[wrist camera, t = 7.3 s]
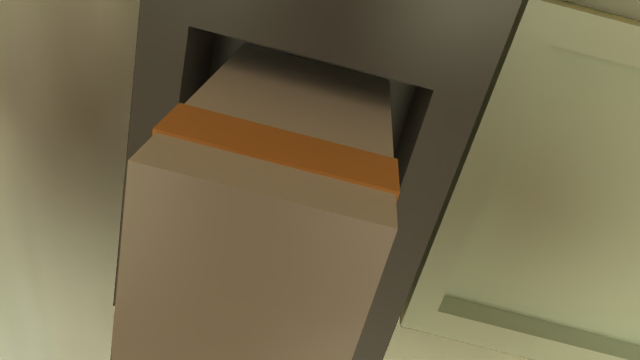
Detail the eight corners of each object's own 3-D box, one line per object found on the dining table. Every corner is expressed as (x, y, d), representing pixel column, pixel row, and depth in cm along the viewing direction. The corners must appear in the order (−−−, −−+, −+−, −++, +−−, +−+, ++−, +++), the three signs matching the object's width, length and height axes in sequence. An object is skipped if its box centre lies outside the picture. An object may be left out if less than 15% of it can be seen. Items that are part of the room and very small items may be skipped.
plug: (352, 208, 15) (333, 419, 9) (219, 174, 15) (106, 363, 9) (392, 79, 14) (403, 227, 7) (243, 40, 13) (124, 155, 7)
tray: (882, 85, 13) (944, 107, 12) (683, 363, 17) (711, 404, 16) (512, -13, 13) (529, -3, 12) (398, 290, 17) (400, 326, 16)
